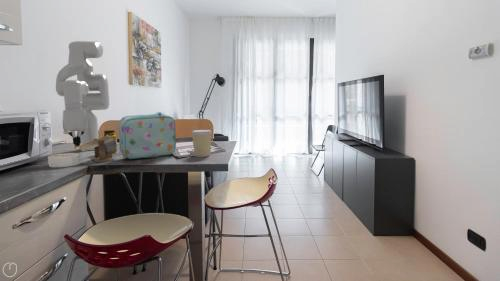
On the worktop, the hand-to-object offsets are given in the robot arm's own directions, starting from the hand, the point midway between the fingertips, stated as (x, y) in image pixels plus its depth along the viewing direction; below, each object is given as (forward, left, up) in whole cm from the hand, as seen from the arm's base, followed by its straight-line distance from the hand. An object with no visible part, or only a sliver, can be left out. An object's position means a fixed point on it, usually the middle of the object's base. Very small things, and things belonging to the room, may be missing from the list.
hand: (77, 145), depth 172 cm
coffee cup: (+35, +48, -7) cm, 60 cm away
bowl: (+11, -8, -7) cm, 15 cm away
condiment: (-8, +17, -7) cm, 20 cm away
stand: (+11, +8, -7) cm, 15 cm away
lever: (+5, +7, -4) cm, 10 cm away
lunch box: (+19, +28, -7) cm, 34 cm away
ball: (+11, -11, -6) cm, 16 cm away
